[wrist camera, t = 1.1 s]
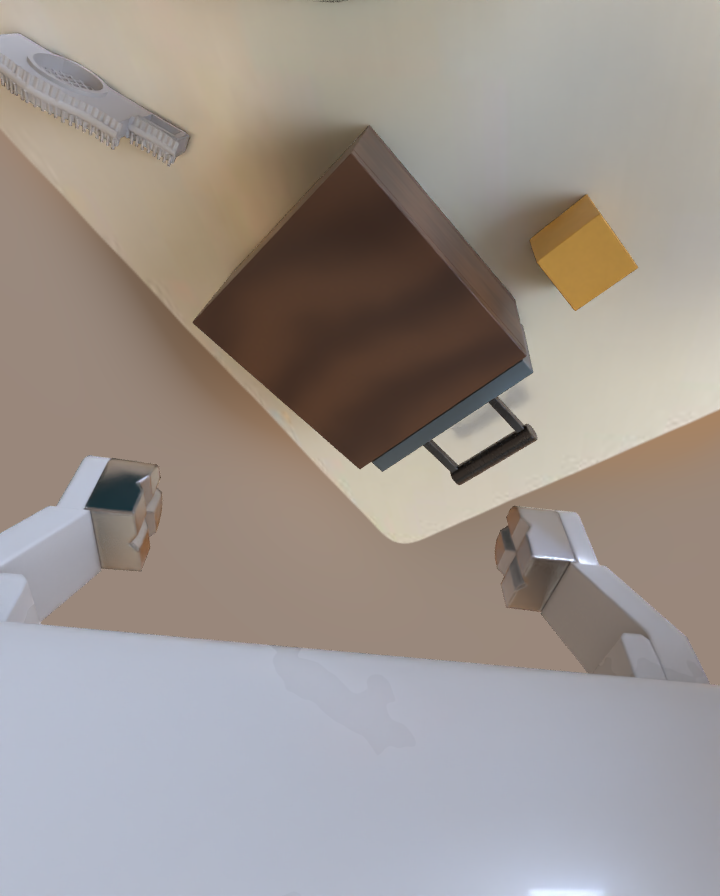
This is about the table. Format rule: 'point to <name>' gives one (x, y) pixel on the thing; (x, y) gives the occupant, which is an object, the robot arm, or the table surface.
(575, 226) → the block
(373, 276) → the cabinet
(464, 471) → the drawer
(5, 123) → the table surface
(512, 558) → the robot arm
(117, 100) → the garden wall model
